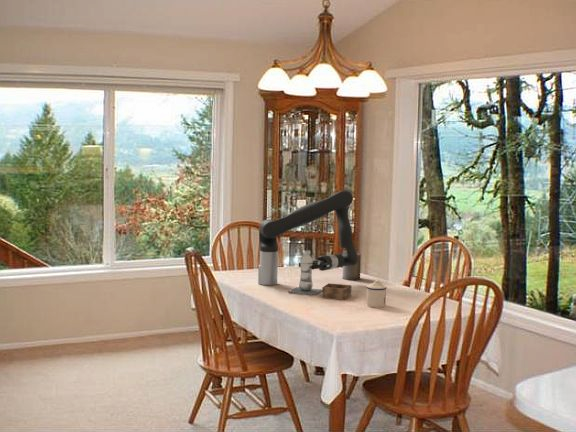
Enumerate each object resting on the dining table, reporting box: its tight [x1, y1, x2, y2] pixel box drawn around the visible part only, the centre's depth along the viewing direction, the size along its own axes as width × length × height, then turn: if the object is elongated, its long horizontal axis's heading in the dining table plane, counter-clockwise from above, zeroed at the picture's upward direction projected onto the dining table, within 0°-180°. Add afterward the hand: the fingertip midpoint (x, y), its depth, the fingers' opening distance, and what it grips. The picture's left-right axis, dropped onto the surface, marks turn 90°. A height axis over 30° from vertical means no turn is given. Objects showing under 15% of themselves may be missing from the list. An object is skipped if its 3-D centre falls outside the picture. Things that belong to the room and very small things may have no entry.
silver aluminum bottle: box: [298, 249, 314, 291], centre depth 351 cm, size 6×7×20 cm
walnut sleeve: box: [321, 282, 352, 301], centre depth 343 cm, size 11×10×5 cm
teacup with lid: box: [366, 279, 388, 309], centre depth 326 cm, size 12×9×12 cm
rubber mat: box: [287, 286, 322, 296], centre depth 352 cm, size 14×12×1 cm
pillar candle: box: [342, 252, 362, 281], centre depth 388 cm, size 10×10×15 cm
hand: (305, 266), depth 350 cm, fingers open, 8 cm apart
